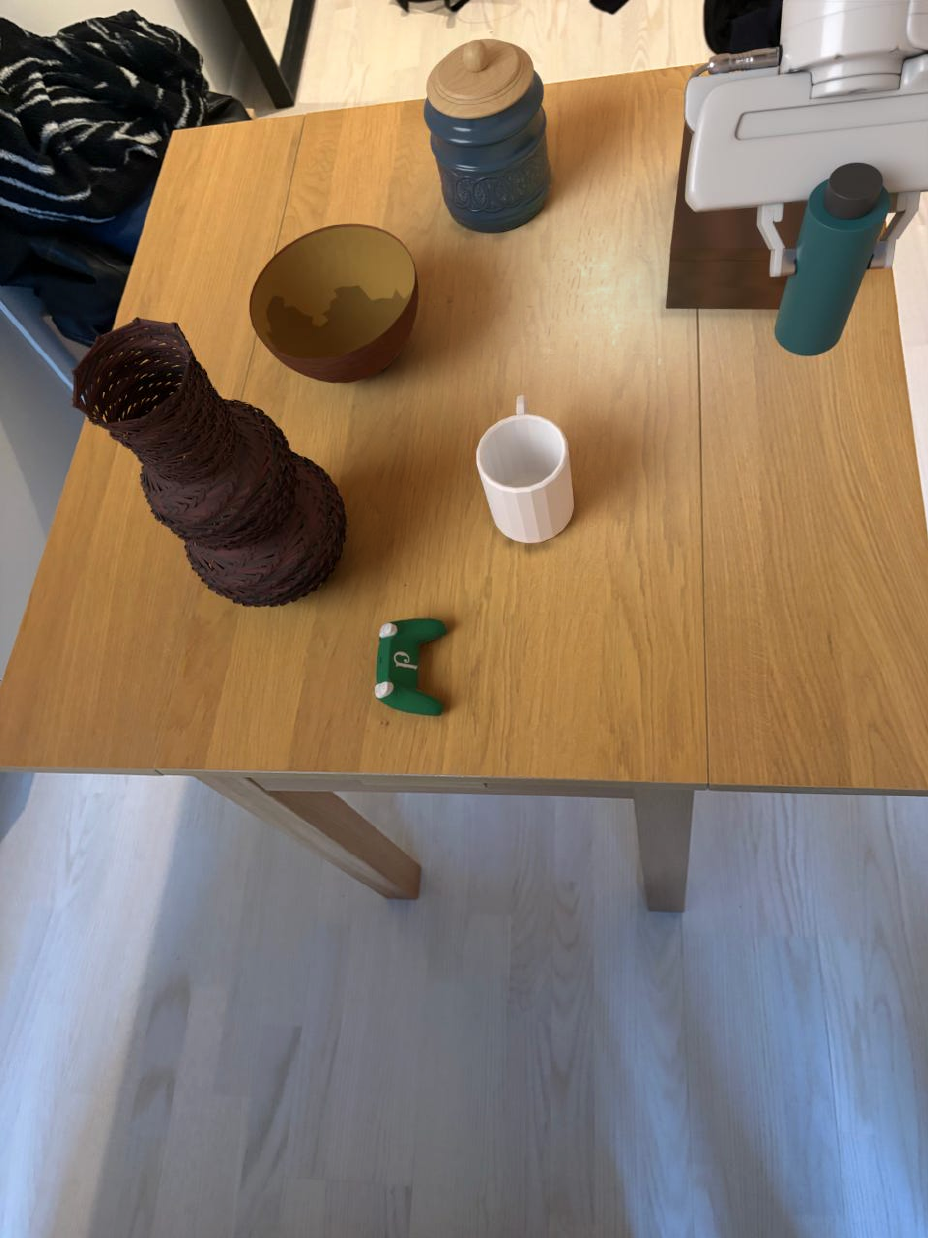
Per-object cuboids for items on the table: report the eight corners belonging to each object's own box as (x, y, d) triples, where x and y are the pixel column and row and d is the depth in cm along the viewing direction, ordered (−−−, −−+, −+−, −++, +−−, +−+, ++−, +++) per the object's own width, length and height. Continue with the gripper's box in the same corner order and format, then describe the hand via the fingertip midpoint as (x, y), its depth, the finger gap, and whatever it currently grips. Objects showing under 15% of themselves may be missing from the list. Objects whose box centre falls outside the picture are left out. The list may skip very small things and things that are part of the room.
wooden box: (811, 167, 88) (828, 97, 81) (806, 309, 81) (824, 247, 74) (681, 171, 91) (686, 104, 84) (665, 308, 84) (670, 248, 77)
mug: (569, 435, 81) (563, 371, 72) (576, 540, 76) (570, 486, 67) (491, 443, 82) (475, 382, 73) (493, 547, 77) (476, 495, 68)
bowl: (468, 336, 88) (451, 266, 79) (360, 447, 85) (328, 388, 76) (360, 271, 94) (332, 200, 85) (256, 372, 91) (215, 309, 82)
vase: (381, 499, 82) (261, 278, 54) (349, 638, 76) (198, 471, 49) (246, 491, 85) (70, 279, 58) (206, 624, 80) (-8, 460, 53)
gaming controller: (429, 631, 77) (375, 616, 74) (451, 619, 74) (395, 604, 71) (425, 723, 74) (367, 712, 71) (447, 715, 71) (388, 703, 68)
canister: (465, 251, 92) (433, 106, 76) (431, 182, 98) (394, 32, 82) (569, 208, 92) (559, 53, 76) (529, 140, 97) (511, -18, 81)
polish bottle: (841, 305, 63) (898, 149, 50) (841, 357, 61) (899, 209, 49) (775, 305, 64) (814, 152, 51) (772, 355, 62) (812, 210, 50)
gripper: (689, 46, 50) (681, 284, 55) (1054, -1, 46) (1007, 260, 51) (681, 68, 55) (675, 282, 61) (1005, 29, 52) (968, 261, 57)
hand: (829, 272), depth 56 cm, fingers closed on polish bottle, 5 cm apart
